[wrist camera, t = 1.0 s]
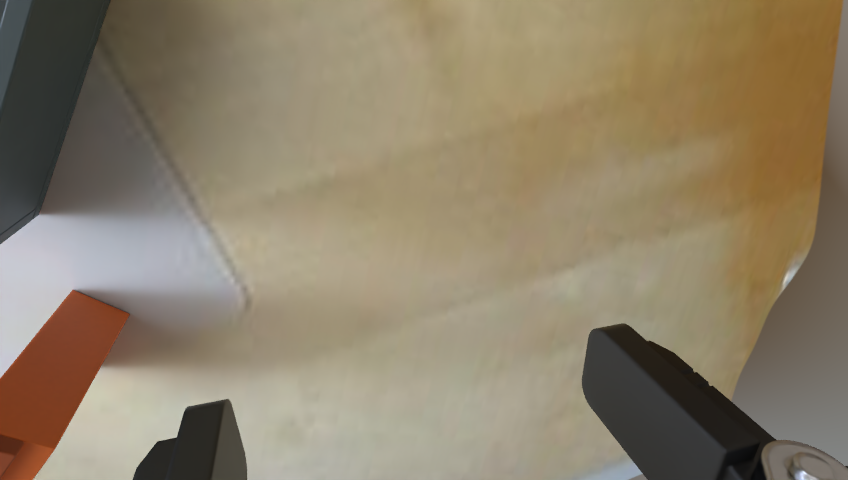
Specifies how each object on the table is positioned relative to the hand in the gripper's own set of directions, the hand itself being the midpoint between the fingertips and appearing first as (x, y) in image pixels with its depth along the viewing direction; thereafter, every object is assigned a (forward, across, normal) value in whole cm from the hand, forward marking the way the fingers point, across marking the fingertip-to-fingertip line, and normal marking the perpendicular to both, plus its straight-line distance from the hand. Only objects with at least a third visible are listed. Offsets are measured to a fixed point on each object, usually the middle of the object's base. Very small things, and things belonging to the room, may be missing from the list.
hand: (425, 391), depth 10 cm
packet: (+23, +18, +11) cm, 31 cm away
